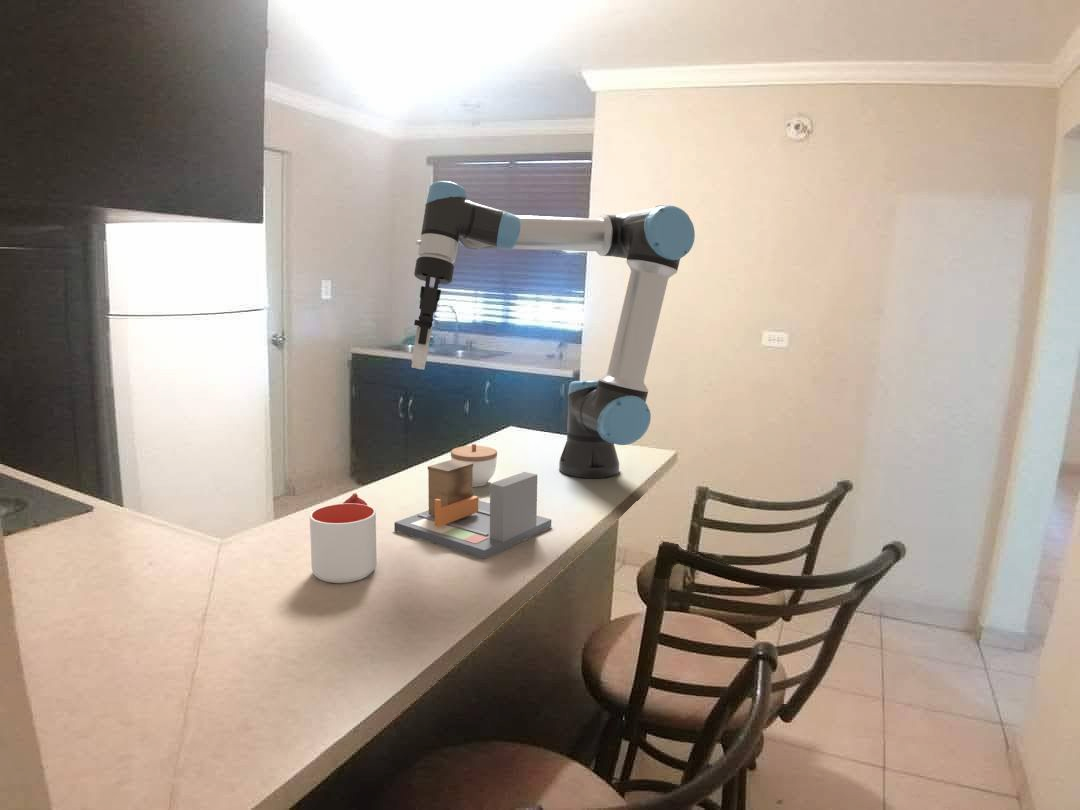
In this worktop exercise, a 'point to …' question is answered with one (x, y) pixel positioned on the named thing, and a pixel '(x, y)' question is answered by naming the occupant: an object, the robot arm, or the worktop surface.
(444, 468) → the brown rectangular block
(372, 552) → the cup
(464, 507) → the orange bracket
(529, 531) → the base
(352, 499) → the onion
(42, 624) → the worktop surface
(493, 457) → the lidded jar
